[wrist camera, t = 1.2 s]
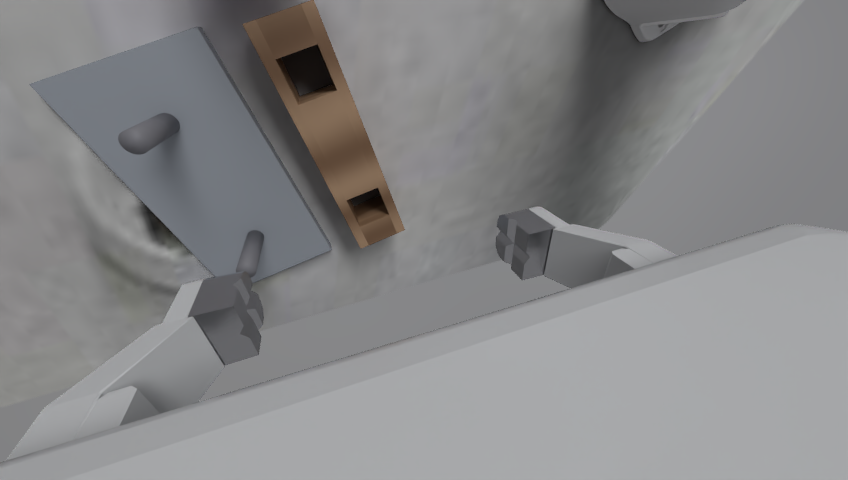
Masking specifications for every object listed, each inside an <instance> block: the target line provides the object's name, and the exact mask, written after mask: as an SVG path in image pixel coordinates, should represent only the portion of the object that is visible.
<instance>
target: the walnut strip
mask: <svg viewBox="0 0 848 480" xmlns="http://www.w3.org/2000/svg"><path fill="white" fill-rule="evenodd" d="M242 25H243V26H244V28H245V30H246V32H247V34H248V36H249V38H250V40H251V42H252V43H253V45H254V47H255V49H256V51H257V53H258V55H259V57H260V59H261V61H262V62H263V64H264V66H265V68H266V70H267V72H268V74H269V76H270V78H271V79H272V81H273V83H274V85H275V87H276V89H277V91H278V93H279V95H280V97H281V98H282V100H283V102H284V104H285V106H286V108H287V110H288V112H289V114H290V115H291V117H292V119H293V121H294V123H295V125H296V127H297V129H298V131H299V133H300V134H301V136H302V138H303V140H304V142H305V144H306V146H307V148H308V150H309V151H310V153H311V155H312V157H313V159H314V161H315V163H316V165H317V167H318V168H319V170H320V172H321V174H322V176H323V178H324V180H325V182H326V184H327V186H328V187H329V189H330V191H331V193H332V195H333V197H334V199H335V201H336V203H337V204H338V206H339V208H340V210H341V212H342V214H343V216H344V218H345V220H346V222H347V223H348V225H349V227H350V229H351V231H352V233H353V235H354V237H355V239H356V240H357V242H358V244H359V246H360V248H364V247H366V246H368V245H371V244H373V243H375V242H378V241H380V240H382V239H385V238H387V237H390V236H392V235H394V234H397V233H399V232H401V231H404V230H405V229H404V226H403V224H402V221H401V219H400V216H399V214H398V211H397V209H396V206H395V204H394V201H393V199H392V196H391V194H390V191H389V189H388V186H387V184H386V181H385V178H384V176H383V173H382V171H381V168H380V166H379V163H378V161H377V158H376V156H375V153H374V151H373V148H372V146H371V143H370V141H369V138H368V136H367V133H366V131H365V128H364V126H363V123H362V121H361V118H360V115H359V113H358V110H357V108H356V105H355V103H354V100H353V98H352V95H351V93H350V90H349V88H348V85H347V83H346V80H345V78H344V75H343V73H342V70H341V68H340V65H339V63H338V60H337V58H336V55H335V52H334V50H333V47H332V45H331V42H330V40H329V37H328V35H327V32H326V30H325V27H324V25H323V22H322V20H321V17H320V15H319V12H318V10H317V7H316V5H315V2H314V0H311V1H308V2H305V3H302V4H299V5H296V6H293V7H290V8H288V9H285V10H282V11H279V12H276V13H273V14H270V15H267V16H264V17H262V18H259V19H256V20H253V21H250V22H247V23H244V24H242ZM314 45H317V47H318V49H319V51H320V54H321V56H322V58H323V61H324V63H325V66H326V68H327V70H328V73H329V75H330V77H331V80H332V82H333V84H332V85H329V86H326V87H324V88H321V89H318V90H315V91H313V92H310V93H307V94H305V95H302V96H300V95H299V93H298V91H297V89H296V87H295V85H294V83H293V81H292V79H291V77H290V75H289V73H288V71H287V69H286V67H285V65H284V63H283V61H282V59H281V57H284V56H286V55H289V54H292V53H295V52H297V51H300V50H303V49H306V48H308V47H311V46H314ZM376 188H377V189H378V191H379V194H380V196H377V197H375V198H372V199H370V200H368V201H365V202H363V203H360V204H358V205H355V206H354V205H353V203H352V201H351V198H354V197H356V196H359V195H361V194H363V193H366V192H368V191H371V190H373V189H376Z"/></svg>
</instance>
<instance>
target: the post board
mask: <svg viewBox="0 0 848 480" xmlns="http://www.w3.org/2000/svg"><path fill="white" fill-rule="evenodd" d="M29 85H30V86H31V87H32V88H33V89H34V90H35V91H36V92H37V93H38V94H39V95H40V96H41V97H42V98H43V99H44V100H45V101H46V102H47V103H48V104H49V105H50V106H51V108H52V109H53V110H54V111H55V112H56V113H57V114H58V115H59V116H60V117H61V118H62V119H63V120H64V121H65V122H66V123H67V124H68V125H69V126H70V127H71V128H72V129H73V130H74V131H75V132H76V133H77V134H78V135H79V136H80V137H81V139H82V140H83V141H84V142H85V143H86V144H87V145H88V146H89V147H90V148H91V149H92V150H93V151H94V152H95V153H96V154H97V155H98V156H99V157H100V158H101V159H102V160H103V161H104V162H105V163H106V164H107V165H108V166H109V167H110V168H111V170H112V171H113V172H114V173H115V174H116V175H117V176H118V177H119V178H120V179H121V180H122V181H123V182H124V183H125V184H126V185H127V186H128V187H129V188H130V189H131V190H132V191H133V192H134V193H135V194H136V195H137V196H138V197H139V198H140V199H141V201H142V202H143V203H144V204H145V205H146V206H147V207H148V208H149V209H150V210H151V211H152V212H153V213H154V214H155V215H156V216H157V217H158V218H159V219H160V220H161V221H162V222H163V223H164V224H165V225H166V226H167V227H168V228H169V229H170V230H171V232H172V233H173V234H174V235H175V236H176V237H177V238H178V239H179V240H180V241H181V242H182V243H183V244H184V245H185V246H186V247H187V248H188V249H189V250H190V251H191V252H192V253H193V254H194V255H195V256H196V257H197V258H198V259H199V260H200V261H201V263H202V264H203V265H204V266H205V267H206V268H207V269H208V270H209V271H210V272H211V273H212V274H213V275H214V276H215V277H217V276H222V275H227V274H232V273H237V272H242V271H246V272H247V273H248V274H249V276H250V278H251V280H252V282H253V283H254V282H257V281H259V280H261V279H264V278H266V277H268V276H271V275H273V274H275V273H278V272H280V271H283V270H285V269H287V268H290V267H292V266H294V265H297V264H299V263H301V262H304V261H306V260H308V259H311V258H313V257H316V256H318V255H320V254H323V253H325V252H327V251H330V250H332V249H331V244H330V242H329V240H328V239H327V237H326V235H325V233H324V232H323V230H322V228H321V227H320V225H319V223H318V222H317V220H316V218H315V217H314V215H313V213H312V212H311V210H310V208H309V207H308V205H307V203H306V202H305V200H304V198H303V197H302V195H301V193H300V192H299V190H298V188H297V187H296V185H295V183H294V182H293V180H292V178H291V177H290V175H289V173H288V172H287V170H286V168H285V167H284V165H283V163H282V162H281V160H280V158H279V156H278V155H277V153H276V151H275V150H274V148H273V146H272V145H271V143H270V141H269V140H268V138H267V136H266V135H265V133H264V131H263V130H262V128H261V126H260V125H259V123H258V121H257V120H256V118H255V116H254V115H253V113H252V111H251V110H250V108H249V106H248V105H247V103H246V101H245V100H244V98H243V96H242V95H241V93H240V91H239V90H238V88H237V86H236V85H235V83H234V81H233V79H232V78H231V76H230V74H229V73H228V71H227V69H226V68H225V66H224V64H223V63H222V61H221V59H220V58H219V56H218V54H217V53H216V51H215V49H214V48H213V46H212V44H211V43H210V41H209V39H208V38H207V36H206V34H205V33H204V31H203V29H202V28H201V27H195V28H192V29H189V30H186V31H183V32H180V33H177V34H174V35H171V36H168V37H166V38H163V39H160V40H157V41H154V42H151V43H148V44H145V45H142V46H139V47H136V48H133V49H131V50H128V51H125V52H122V53H119V54H116V55H113V56H110V57H107V58H104V59H101V60H98V61H96V62H93V63H90V64H87V65H84V66H81V67H78V68H75V69H72V70H69V71H66V72H63V73H60V74H58V75H55V76H52V77H49V78H46V79H43V80H40V81H37V82H34V83H31V84H29Z"/></svg>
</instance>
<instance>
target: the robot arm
mask: <svg viewBox="0 0 848 480" xmlns="http://www.w3.org/2000/svg"><path fill="white" fill-rule="evenodd" d="M604 1H605V3H606V5H607V6H608V8H609V9H610V10H611V11H612V12H613V13H614V14H615V15H616V16H618V17H620V18H621V19H623V20H625V21H626V22H628V23H629V24H630V26H631V28H632V30H633V32H634V35H635V36H636V38H637V39H638V40H639V41H640V42H647V41H652V40H654V39H655V38H657V37H659V36H660V35H662V34H663V33H665V32H666V31H668V30H669V29H671V28H673V27H674V26H676V25H677V24H679V23H680V22H686V21H695V20H703V19H711V18H718V17H722V16H725V15H726V14H727V13H728V12H729V10H731V9H733V8H735V7H737V6H739V5H740V4H742V3H743V2H744V1H746V0H604ZM497 227H498V229H499V230H500V232H499V234H498V235H497V237H496V249H497V253H498V255H499V256H500V258H501V259H502V260H503V261H504V262H506V263H509V264H511V269H512V270H513V271H514V272H515V273H516V274H517V275H518V276H519V277H520V279H522V280H525V279H529V278H533V277H536V276H540V275H544V276H545V277H548V278H550V279H552V280H554V281H556V282H559V283H561V284H563V285H565V286H567V287H570V288H571V289H567V290H564V291H561V292H557V293H554V294H551V295H548V296H544V297H541V298H538V299H535V300H531V301H528V302H525V303H521V304H518V305H515V306H512V307H508V308H506V309H502V310H498V311H495V312H492V313H489V314H485V315H482V316H479V317H476V318H472V319H469V320H466V321H463V322H459V323H456V324H453V325H450V326H446V327H443V328H440V329H437V330H433V331H430V332H427V333H423V334H420V335H417V336H413V337H410V338H407V339H404V340H400V341H397V342H394V343H390V344H387V345H384V346H381V347H377V348H374V349H371V350H367V351H364V352H361V353H358V354H354V355H351V356H348V357H345V358H341V359H338V360H335V361H331V362H328V363H325V364H322V365H318V366H315V367H312V368H309V369H305V370H302V371H298V372H295V373H292V374H289V375H285V376H282V377H279V378H276V379H273V380H269V381H266V382H262V383H259V384H256V385H253V386H249V387H246V388H243V389H240V390H236V391H233V392H230V393H226V394H223V395H220V396H216V397H213V398H210V399H207V400H203V401H201V402H199V400H200V399H201V398H202V396H203V395H204V394H205V392H206V391H207V390H208V388H209V387H210V386H211V384H212V383H213V382H214V381H215V379H216V378H217V377H218V375H219V374H220V373H221V371H222V370H223V369H224V367H225V366H224V365H227V364H231V363H234V362H237V361H240V360H244V359H247V358H250V357H253V356H257V355H259V349H260V342H261V335H260V333H259V331H258V330H259V329H260V328H261V326H262V325H263V320H264V315H263V307H262V303H261V300H260V298H259V296H258V294H257V293H255V292H253V291H251V288H252V283H253V282H252V280H251V278H250V276H249V274H248V273H247V272H246V271H242V272H237V273H232V274H227V275H222V276H217V277H212V278H207V279H201V280H197V281H192V282H188V283H185V284H183V285H182V286H181V288H180V290H179V291H178V293H177V295H176V297H175V299H174V301H173V303H172V305H171V307H170V309H169V311H168V313H167V315H166V317H165V319H164V320H163V322H162V324H160V325H156V326H154V327H152V328H151V329H150V330H148V331H147V332H146V333H144V334H143V335H142V336H140V337H139V338H138V339H136V340H135V341H134V342H132V343H131V344H130V345H128V346H127V347H126V348H124V349H123V350H121V351H120V352H119V353H117V354H116V355H115V356H113V357H112V358H111V359H109V360H108V361H107V362H105V363H104V364H103V365H101V366H100V367H99V368H97V369H96V370H95V371H93V372H92V373H91V374H89V375H88V376H87V377H85V378H84V379H83V380H81V381H80V382H79V383H77V384H76V385H75V386H73V387H72V388H71V389H69V390H68V391H67V392H65V393H64V394H62V395H61V396H60V397H59V398H57V399H56V400H54V401H53V402H52V403H50V404H49V405H48V406H46V407H45V408H44V409H43V410H42V411H41V413H40V414H39V416H38V417H37V419H36V420H35V421H34V423H33V424H32V426H31V427H30V428H29V430H28V431H27V432H26V434H25V435H24V436H23V438H22V439H21V440H20V442H19V443H18V445H17V446H16V447H15V449H14V450H13V451H12V453H11V454H10V456H9V457H8V458H7V460H6V461H3V462H0V480H848V232H844V231H839V230H833V229H826V228H820V227H812V226H806V225H797V224H782V225H777V226H774V227H770V228H767V229H764V230H761V231H757V232H754V233H750V234H747V235H744V236H741V237H738V238H734V239H731V240H728V241H724V242H721V243H718V244H715V245H712V246H708V247H705V248H702V249H698V250H695V251H692V252H689V253H685V254H682V255H679V256H677V255H675V254H673V253H671V252H670V251H668V250H666V249H664V248H662V247H660V246H658V245H657V244H655V243H653V242H651V241H649V240H645V239H641V238H636V237H631V236H627V235H622V234H617V233H613V232H608V231H604V230H599V229H594V228H590V227H585V226H580V225H576V224H572V225H569V224H568V223H566V222H565V221H563V220H561V219H560V218H558V217H557V216H555V215H553V214H552V213H550V212H549V211H547V210H546V209H544V208H542V207H539V206H536V207H532V208H528V209H525V210H521V211H516V212H512V213H508V214H504V215H500V216H499V218H498V222H497Z"/></svg>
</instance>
